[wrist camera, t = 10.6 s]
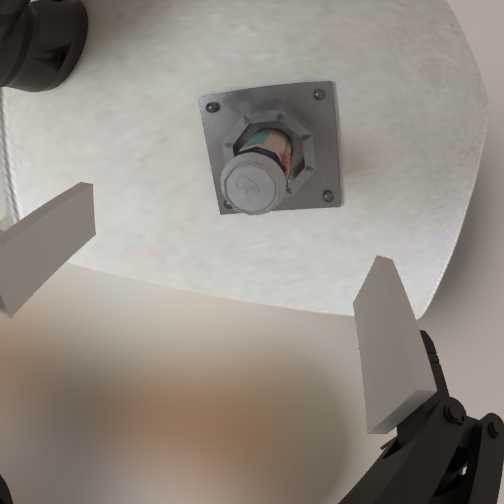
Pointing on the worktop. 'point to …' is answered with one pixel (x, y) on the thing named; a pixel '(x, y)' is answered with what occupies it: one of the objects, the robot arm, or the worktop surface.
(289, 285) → the worktop surface
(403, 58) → the worktop surface
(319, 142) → the duct flange
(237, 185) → the beer can
